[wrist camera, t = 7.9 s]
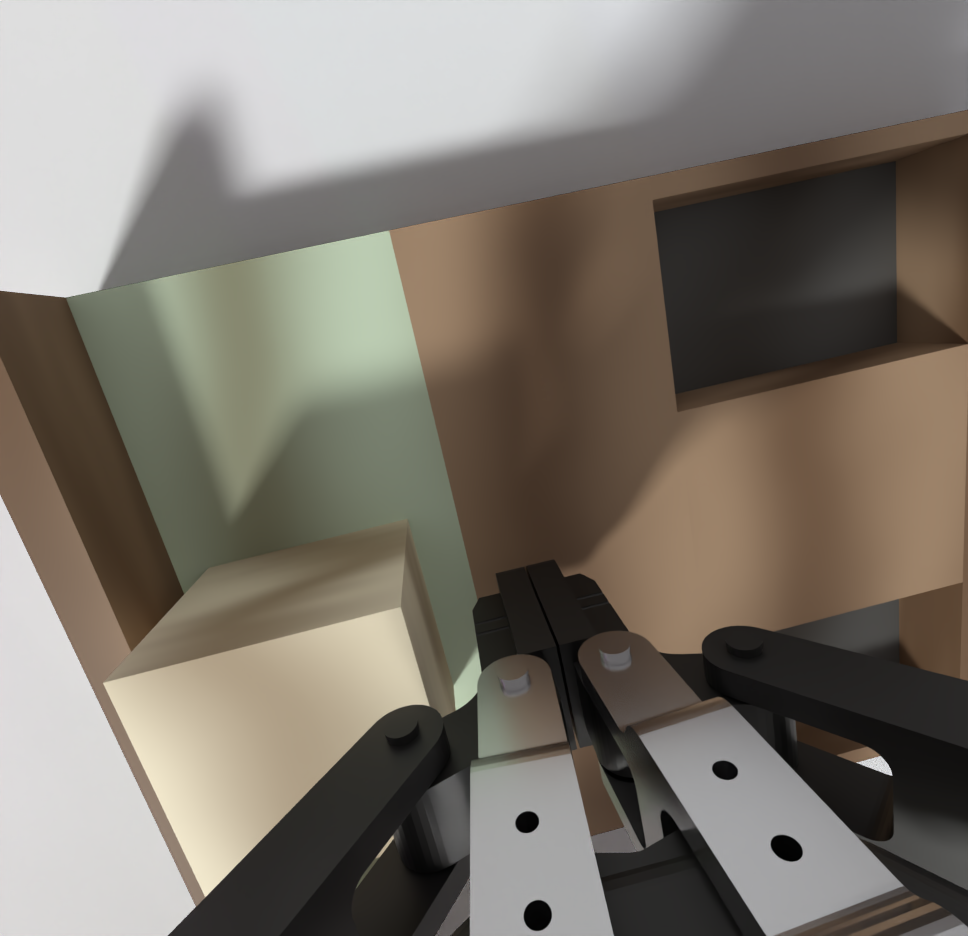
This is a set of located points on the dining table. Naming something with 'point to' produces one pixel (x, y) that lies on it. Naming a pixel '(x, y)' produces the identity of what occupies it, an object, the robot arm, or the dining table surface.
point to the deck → (539, 414)
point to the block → (276, 683)
